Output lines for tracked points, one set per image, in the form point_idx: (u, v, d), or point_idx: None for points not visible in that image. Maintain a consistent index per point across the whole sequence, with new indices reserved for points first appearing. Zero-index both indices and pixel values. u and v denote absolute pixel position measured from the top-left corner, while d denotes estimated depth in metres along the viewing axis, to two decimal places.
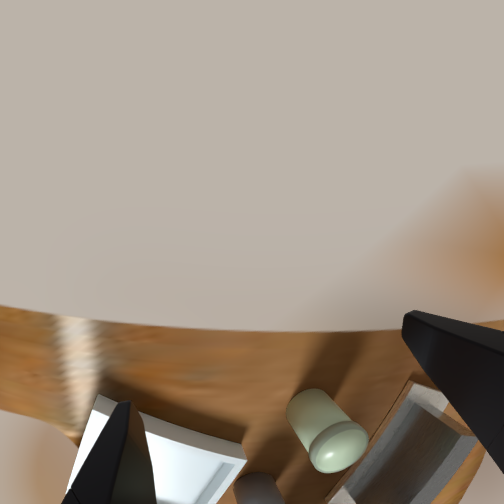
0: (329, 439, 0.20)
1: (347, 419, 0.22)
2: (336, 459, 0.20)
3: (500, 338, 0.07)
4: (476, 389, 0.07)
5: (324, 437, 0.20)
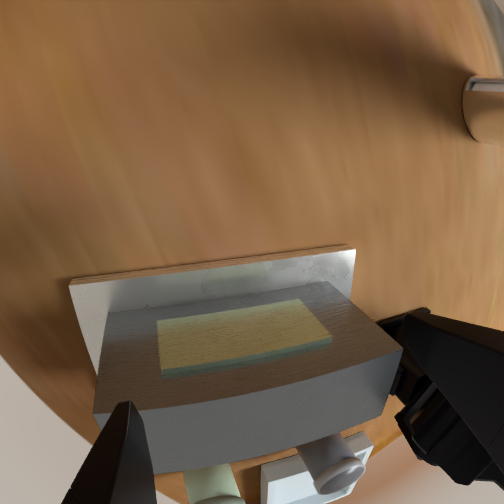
0: None
1: None
2: None
3: (500, 338, 0.07)
4: (476, 389, 0.07)
5: None
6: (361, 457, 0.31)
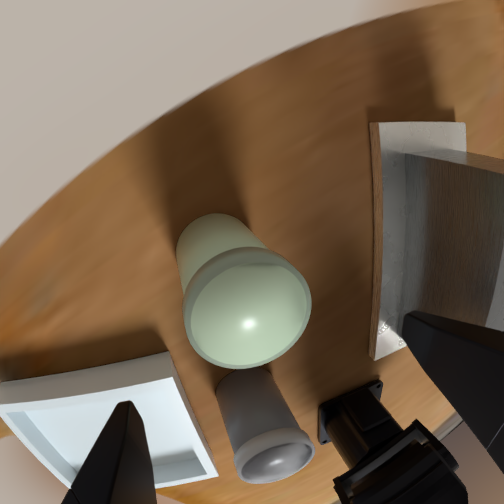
0: (193, 311, 0.11)
1: (230, 248, 0.12)
2: (254, 336, 0.12)
3: (500, 338, 0.07)
4: (476, 389, 0.07)
5: (184, 312, 0.11)
6: (185, 476, 0.21)
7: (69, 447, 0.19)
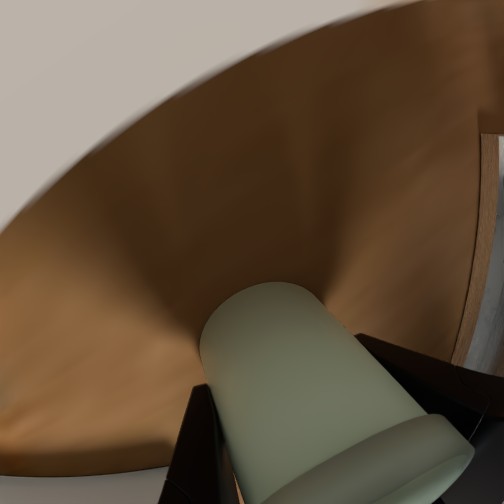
0: None
1: (351, 420, 0.05)
2: None
3: (450, 374, 0.06)
4: None
5: None
6: None
7: None
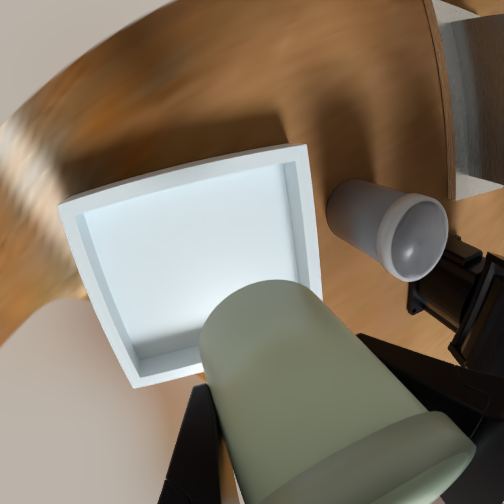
0: None
1: (351, 417, 0.05)
2: None
3: (450, 374, 0.06)
4: None
5: None
6: None
7: (138, 301, 0.19)
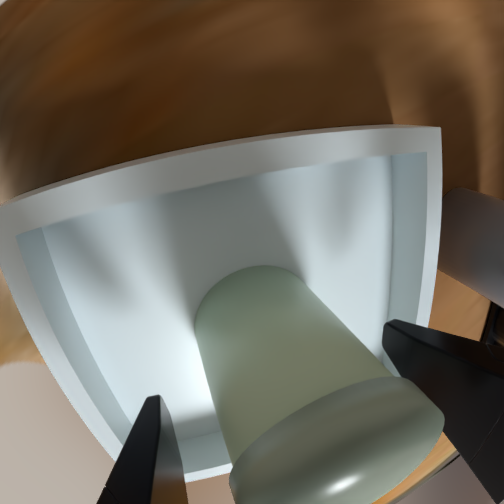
0: None
1: (323, 378, 0.06)
2: (350, 499, 0.05)
3: (483, 351, 0.06)
4: (457, 404, 0.07)
5: (239, 501, 0.05)
6: None
7: (143, 375, 0.11)
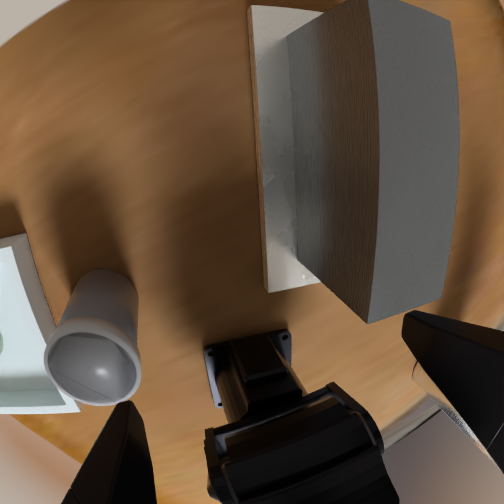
0: None
1: None
2: None
3: (500, 338, 0.07)
4: (476, 389, 0.07)
5: None
6: (46, 403, 0.18)
7: None
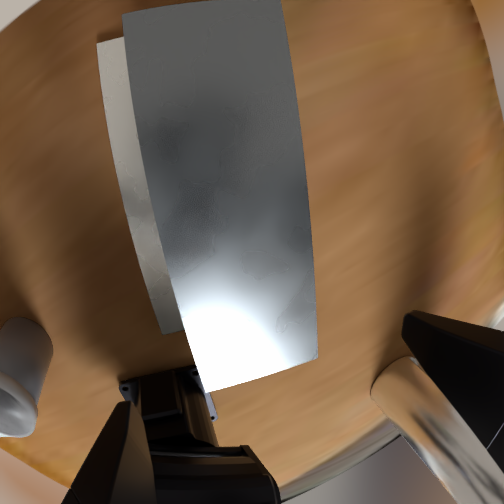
0: None
1: None
2: None
3: (500, 338, 0.07)
4: (476, 389, 0.07)
5: None
6: None
7: None
